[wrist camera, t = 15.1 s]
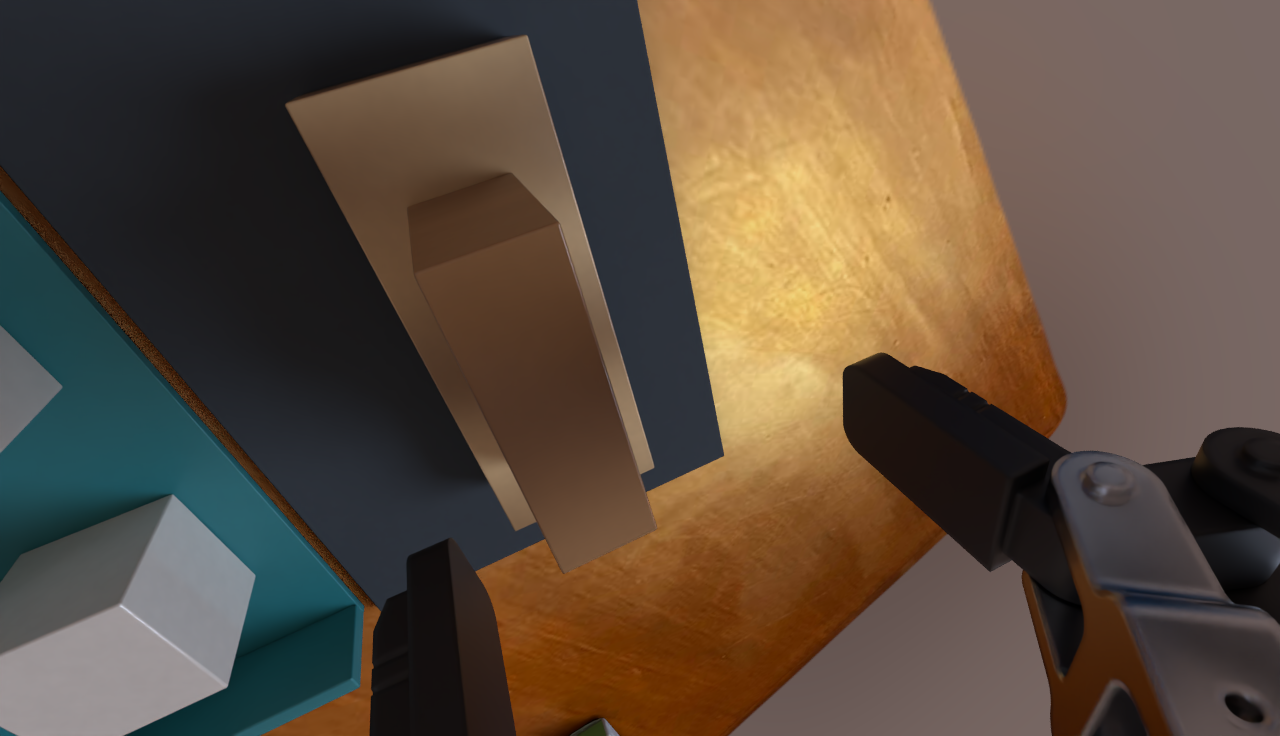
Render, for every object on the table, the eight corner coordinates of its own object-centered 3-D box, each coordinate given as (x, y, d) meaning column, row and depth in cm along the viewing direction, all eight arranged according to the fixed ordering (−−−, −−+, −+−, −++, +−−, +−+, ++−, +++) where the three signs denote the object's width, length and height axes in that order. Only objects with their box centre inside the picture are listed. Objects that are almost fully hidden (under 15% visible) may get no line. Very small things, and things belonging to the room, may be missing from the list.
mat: (-144, -19, 10) (-163, -22, 10) (597, -180, 13) (602, -185, 13) (383, 605, 21) (383, 614, 21) (720, 450, 24) (724, 456, 24)
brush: (299, 94, 13) (229, 133, 7) (507, 35, 14) (588, 29, 8) (502, 483, 20) (546, 655, 14) (629, 427, 21) (718, 568, 15)
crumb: (19, 553, 15) (-79, 689, 12) (173, 492, 16) (119, 604, 13) (125, 631, 18) (66, 763, 14) (257, 574, 18) (228, 688, 15)
